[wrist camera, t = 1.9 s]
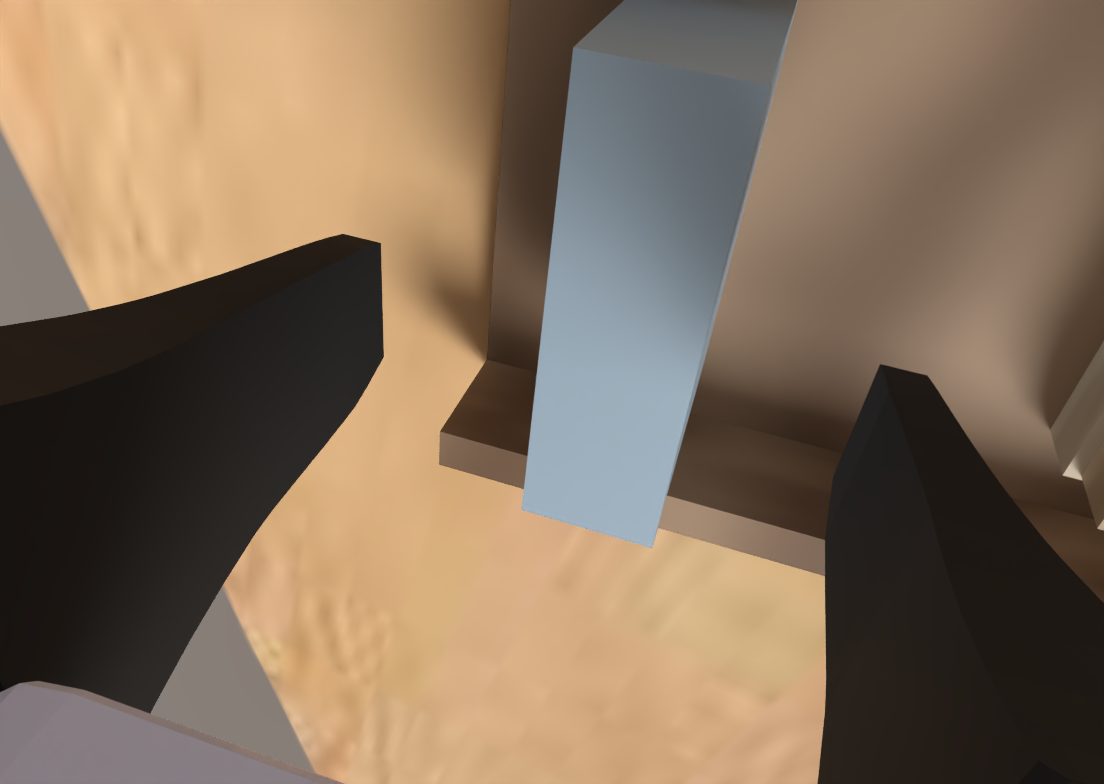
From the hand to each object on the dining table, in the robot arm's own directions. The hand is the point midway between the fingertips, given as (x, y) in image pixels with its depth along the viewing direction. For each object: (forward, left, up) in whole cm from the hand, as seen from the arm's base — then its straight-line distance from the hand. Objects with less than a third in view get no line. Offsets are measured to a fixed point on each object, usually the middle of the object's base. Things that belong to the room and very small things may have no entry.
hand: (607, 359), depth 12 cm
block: (0, 0, -7) cm, 7 cm away
